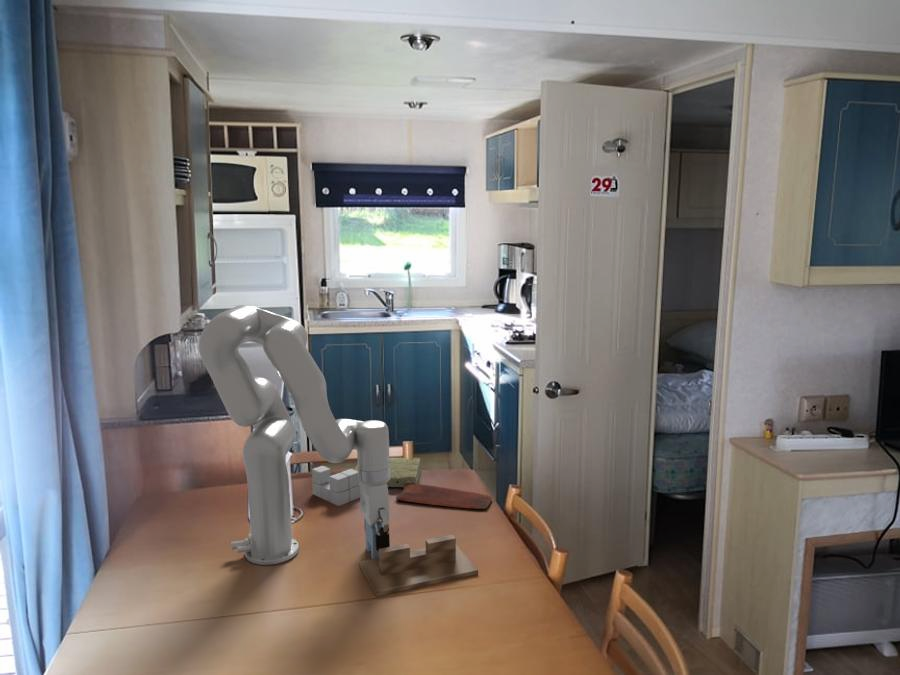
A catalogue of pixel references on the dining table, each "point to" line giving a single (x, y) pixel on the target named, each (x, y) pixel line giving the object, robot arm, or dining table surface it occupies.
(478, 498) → the wooden tablet
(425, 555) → the walnut stand
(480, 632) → the dining table surface
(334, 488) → the puzzle cube
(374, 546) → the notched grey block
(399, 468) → the olive green flat block
